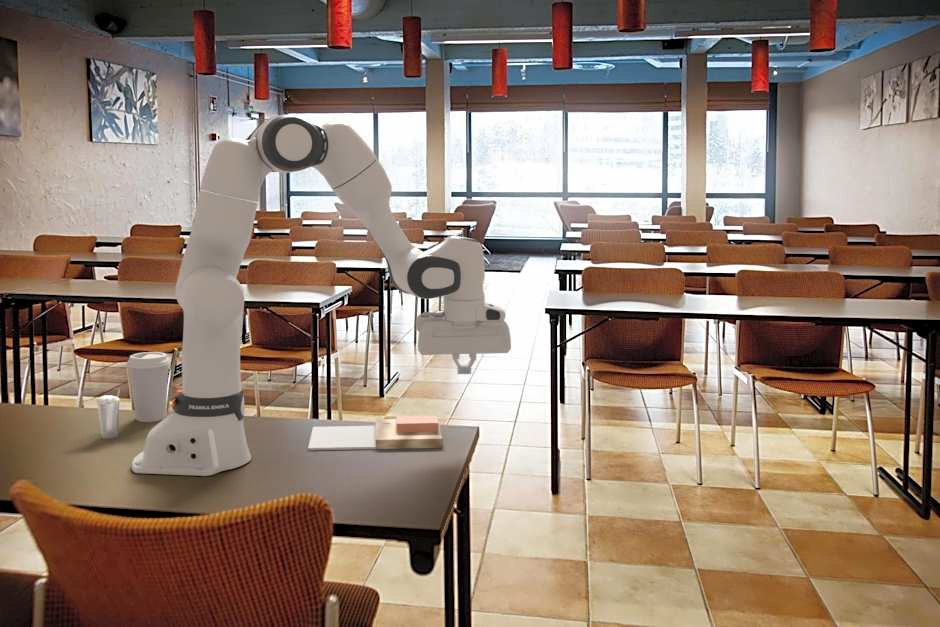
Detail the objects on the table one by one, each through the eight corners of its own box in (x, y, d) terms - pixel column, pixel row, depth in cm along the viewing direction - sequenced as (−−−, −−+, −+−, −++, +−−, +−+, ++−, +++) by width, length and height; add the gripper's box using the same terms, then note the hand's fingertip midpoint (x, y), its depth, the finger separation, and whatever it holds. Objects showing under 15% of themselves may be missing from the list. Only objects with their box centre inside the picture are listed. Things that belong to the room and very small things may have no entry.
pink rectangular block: (396, 432, 195) (396, 423, 195) (396, 425, 201) (396, 416, 201) (438, 431, 196) (438, 422, 196) (436, 424, 202) (436, 415, 202)
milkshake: (128, 435, 198) (126, 390, 197) (107, 440, 194) (105, 395, 192) (115, 431, 201) (113, 387, 199) (94, 437, 196) (91, 392, 195)
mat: (308, 450, 189) (308, 448, 189) (313, 428, 205) (313, 426, 205) (375, 449, 190) (375, 446, 190) (375, 427, 206) (375, 425, 206)
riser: (375, 449, 190) (375, 439, 190) (375, 427, 206) (375, 419, 206) (442, 447, 192) (442, 438, 192) (437, 426, 208) (437, 418, 207)
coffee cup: (149, 411, 218) (146, 349, 215) (181, 415, 214) (178, 353, 212) (119, 421, 209) (116, 357, 207) (152, 426, 205) (150, 361, 203)
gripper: (416, 314, 192) (417, 378, 194) (512, 312, 194) (512, 375, 196) (415, 309, 198) (415, 371, 200) (508, 308, 200) (507, 369, 202)
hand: (464, 373), depth 198 cm, fingers closed
